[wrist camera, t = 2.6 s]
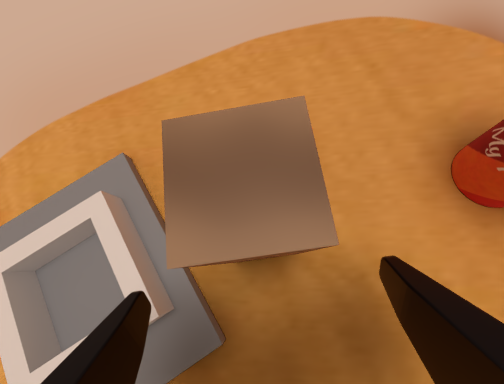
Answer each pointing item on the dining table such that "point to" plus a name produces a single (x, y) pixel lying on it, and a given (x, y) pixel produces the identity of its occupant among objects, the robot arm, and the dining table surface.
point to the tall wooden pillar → (243, 185)
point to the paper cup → (482, 168)
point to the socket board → (96, 279)
